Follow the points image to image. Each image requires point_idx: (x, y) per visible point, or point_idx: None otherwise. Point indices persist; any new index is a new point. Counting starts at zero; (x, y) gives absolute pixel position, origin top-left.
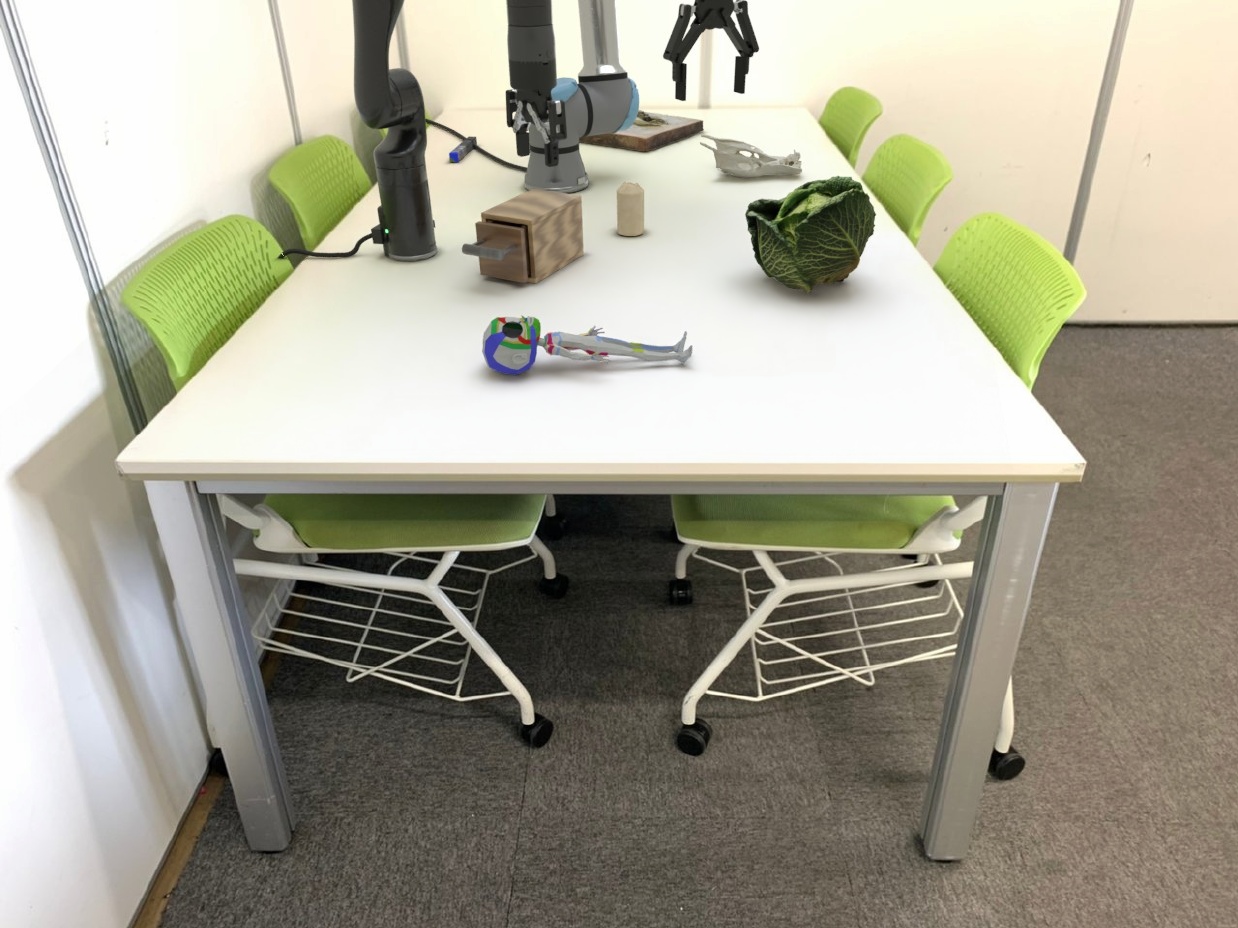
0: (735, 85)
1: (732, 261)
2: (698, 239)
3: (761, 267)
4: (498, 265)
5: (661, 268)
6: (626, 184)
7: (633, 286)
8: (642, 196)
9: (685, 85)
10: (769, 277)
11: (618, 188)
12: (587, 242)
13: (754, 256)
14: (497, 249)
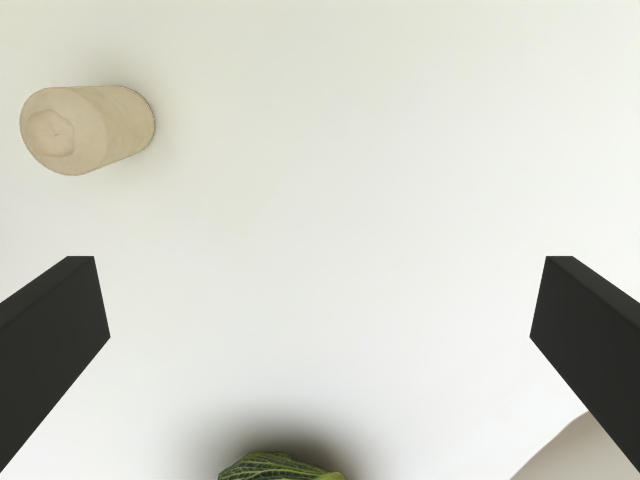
0: (566, 293)
1: (244, 365)
2: (249, 237)
3: (232, 465)
4: None
5: None
6: (47, 114)
7: None
8: (100, 166)
9: (52, 400)
10: (250, 453)
11: (22, 114)
12: (2, 128)
13: (219, 474)
14: None
